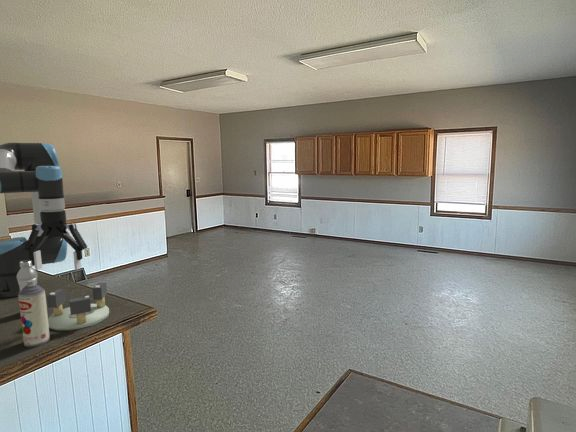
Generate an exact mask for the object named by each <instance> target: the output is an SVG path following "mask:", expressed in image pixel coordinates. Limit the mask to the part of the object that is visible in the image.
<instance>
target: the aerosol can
mask: <svg viewBox="0 0 576 432" xmlns="http://www.w3.org/2000/svg"><path fill="white" fill-rule="evenodd" d="M17 297H18V304H19V305H18V306H19V312H20V322H21V323H20V324H21V330H22V331H21V333H22V340H23V346H24V347H26V348H34V347H40V346H43V345H44V344H47V343H48V342H49V341H50V340H51V335H50V328H49V324H48V317H49V316H48V304H47V295H46V291H45V288H44V287H42V286H41V285H38V283H37V284H35V283H34V280H30V281H27V285H26V286H25V287H24V288H23V289H22V290H21V291H20V292H19V295H18V296H17Z"/></svg>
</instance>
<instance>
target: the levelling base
mask: <svg viewBox="0 0 576 432" xmlns="http://www.w3.org/2000/svg"><path fill="white" fill-rule="evenodd" d="M90 305H91V311H90V312H86V323H84V324H77V316H76V314H74V315H71V312H70V306H68V307H65V308H63V314H62V315H60V316H54V312H53V313H51V315H49V316H48V324H49V329H51V330H53V331H73V330H80V329H85V328H89V327H91V326H94V325H98V324H99V323H101V322H102V321H104V320H106V319H107V318H108V317H109V315H110V308H109V306H107V305H106V304H105V307H102V308H97V303H90Z"/></svg>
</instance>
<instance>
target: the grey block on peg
mask: <svg viewBox="0 0 576 432" xmlns="http://www.w3.org/2000/svg"><path fill="white" fill-rule="evenodd" d="M107 294H108V289H107V282H97V283H96V284H95V285H94V286H93V287H92V299H93V300H94V301H96V304H97V308H102V307H105V305H106V300H105V299H106V298H105V296H106V295H107Z"/></svg>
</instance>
